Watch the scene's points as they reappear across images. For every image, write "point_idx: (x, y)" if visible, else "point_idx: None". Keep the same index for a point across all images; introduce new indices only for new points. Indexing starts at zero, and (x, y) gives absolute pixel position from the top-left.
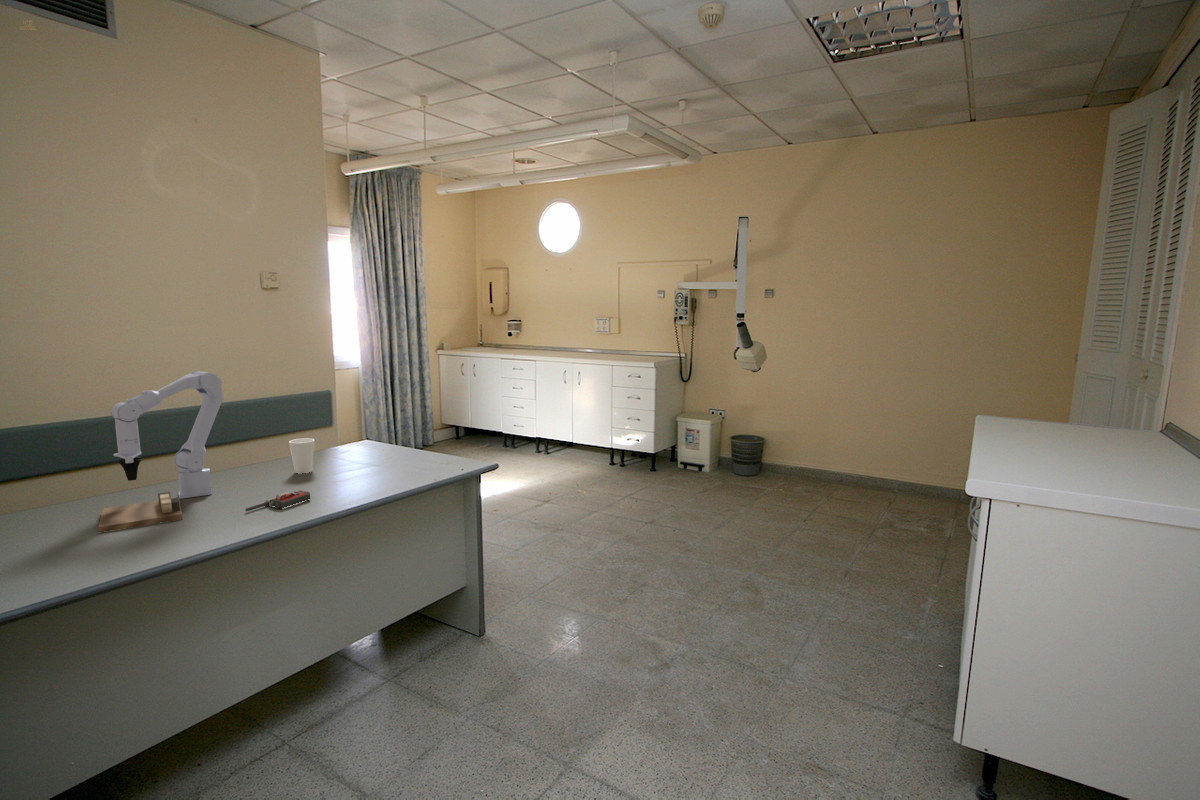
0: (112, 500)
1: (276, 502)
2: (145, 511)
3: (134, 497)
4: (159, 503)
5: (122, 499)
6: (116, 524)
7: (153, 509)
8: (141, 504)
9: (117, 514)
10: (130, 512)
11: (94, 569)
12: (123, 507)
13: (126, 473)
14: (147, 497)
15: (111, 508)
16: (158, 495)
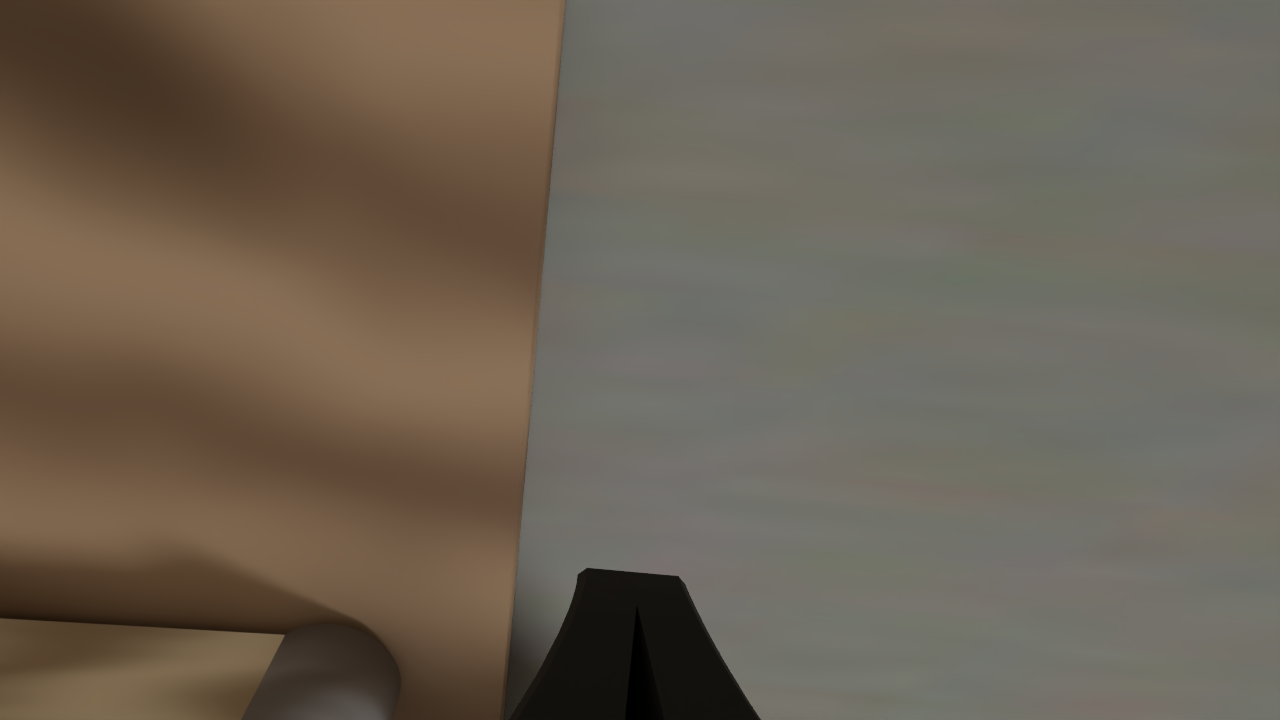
0: (1267, 156)
1: None
2: (7, 454)
3: (1170, 405)
4: (339, 619)
5: (1200, 273)
6: None
7: (60, 538)
8: (429, 452)
9: (27, 135)
10: (49, 296)
11: None
12: (406, 245)
13: (528, 697)
14: (1030, 523)
15: (459, 92)
16: (271, 707)
